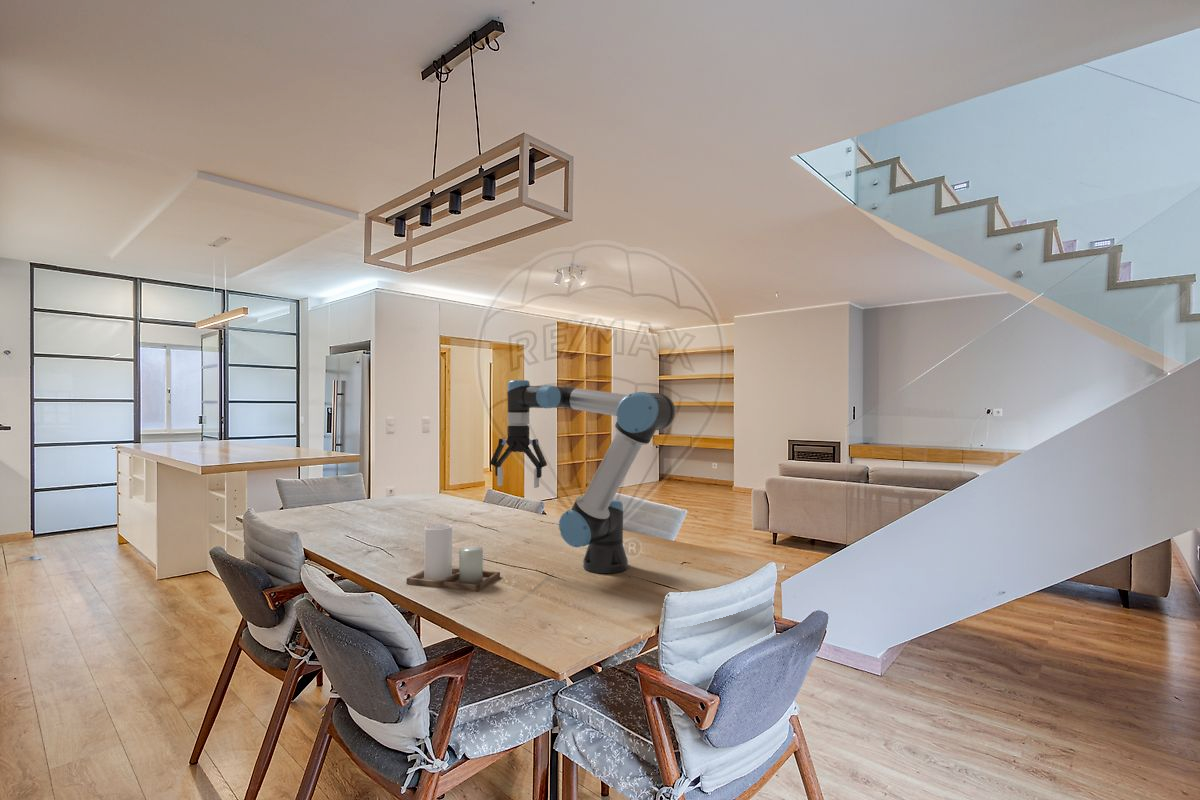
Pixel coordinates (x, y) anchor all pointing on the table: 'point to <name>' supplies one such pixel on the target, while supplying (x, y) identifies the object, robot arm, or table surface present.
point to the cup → (438, 552)
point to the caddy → (454, 581)
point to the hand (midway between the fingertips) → (518, 486)
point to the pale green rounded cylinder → (471, 565)
